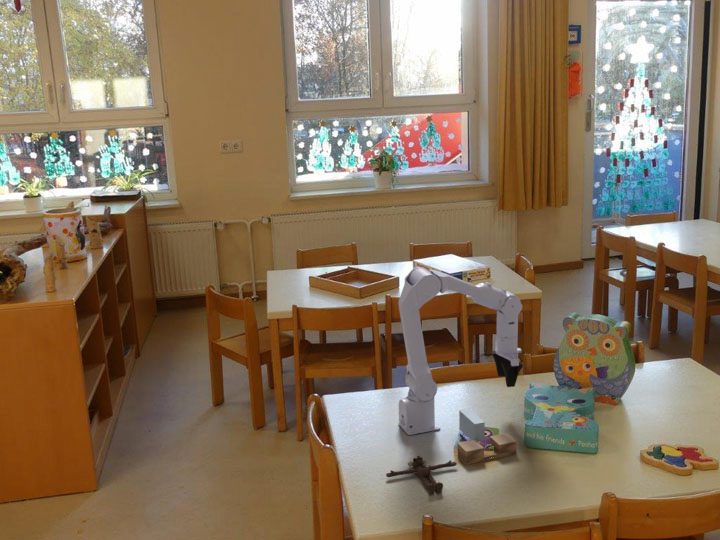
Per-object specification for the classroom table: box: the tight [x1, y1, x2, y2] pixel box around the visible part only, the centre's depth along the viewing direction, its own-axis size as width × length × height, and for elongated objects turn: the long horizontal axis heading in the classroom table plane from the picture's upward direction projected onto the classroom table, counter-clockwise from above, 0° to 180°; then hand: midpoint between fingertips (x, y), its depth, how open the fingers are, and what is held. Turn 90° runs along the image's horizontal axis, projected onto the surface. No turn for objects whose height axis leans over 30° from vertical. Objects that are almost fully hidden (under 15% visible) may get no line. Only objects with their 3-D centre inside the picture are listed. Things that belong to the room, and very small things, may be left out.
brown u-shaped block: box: [456, 432, 518, 465], centre depth 191 cm, size 14×5×4 cm, turn 108°
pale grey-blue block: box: [458, 407, 486, 442], centre depth 198 cm, size 3×9×7 cm, turn 18°
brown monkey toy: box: [385, 455, 457, 496], centre depth 181 cm, size 18×4×14 cm
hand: (506, 381), depth 211 cm, fingers open, 7 cm apart
